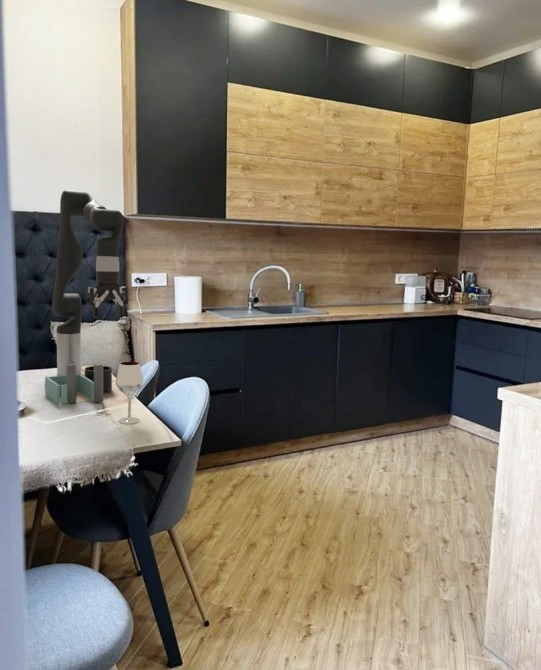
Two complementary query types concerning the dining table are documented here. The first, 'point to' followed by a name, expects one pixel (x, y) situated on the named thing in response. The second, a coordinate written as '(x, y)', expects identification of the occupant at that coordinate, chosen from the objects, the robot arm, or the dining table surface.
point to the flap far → (97, 384)
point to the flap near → (69, 385)
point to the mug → (106, 377)
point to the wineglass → (129, 385)
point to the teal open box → (55, 381)
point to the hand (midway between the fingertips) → (107, 317)
